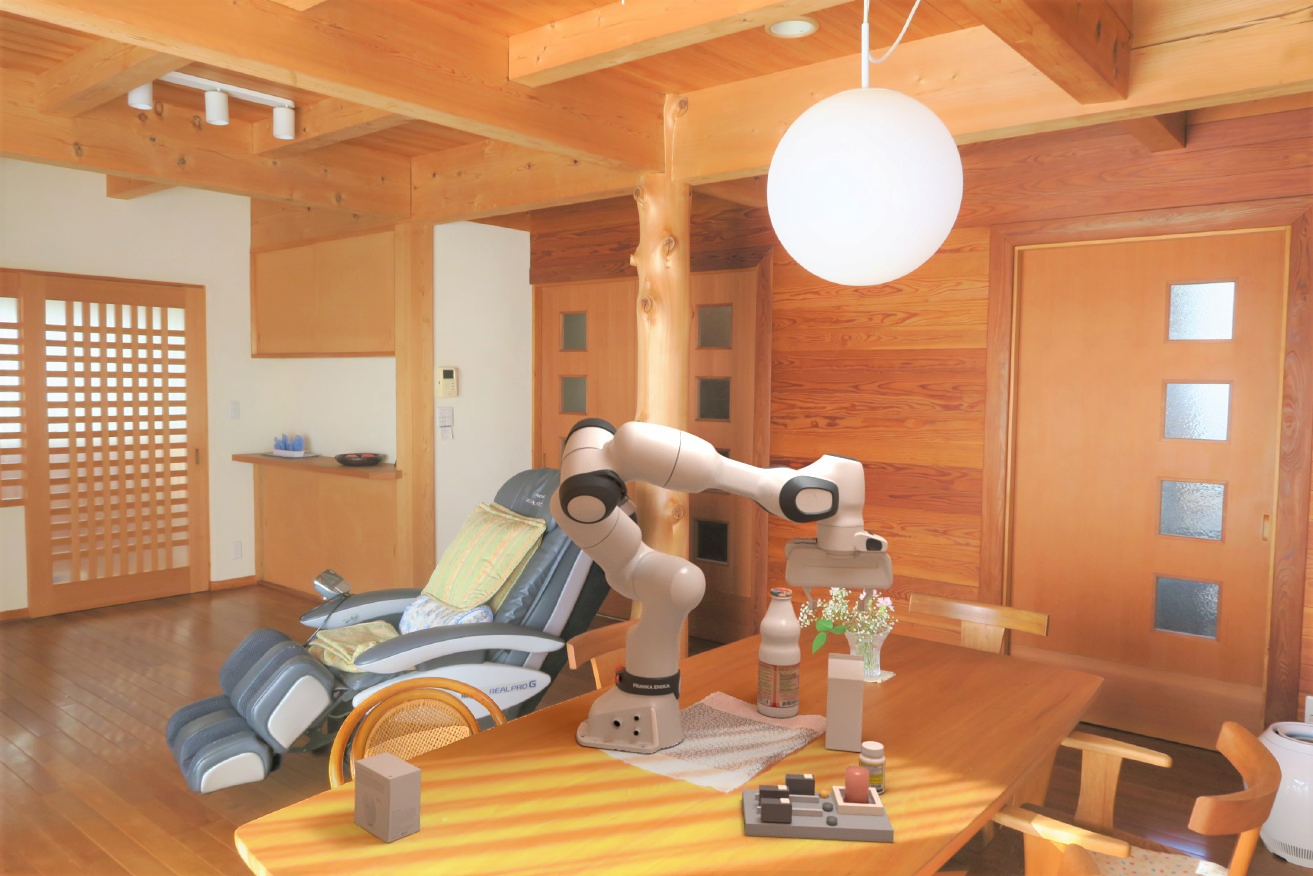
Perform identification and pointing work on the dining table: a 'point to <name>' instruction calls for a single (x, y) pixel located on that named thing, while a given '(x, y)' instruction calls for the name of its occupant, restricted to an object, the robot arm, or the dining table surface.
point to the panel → (822, 817)
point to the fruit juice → (779, 658)
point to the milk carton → (844, 702)
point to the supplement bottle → (874, 764)
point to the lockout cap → (856, 785)
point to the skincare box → (387, 796)
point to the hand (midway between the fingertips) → (837, 610)
